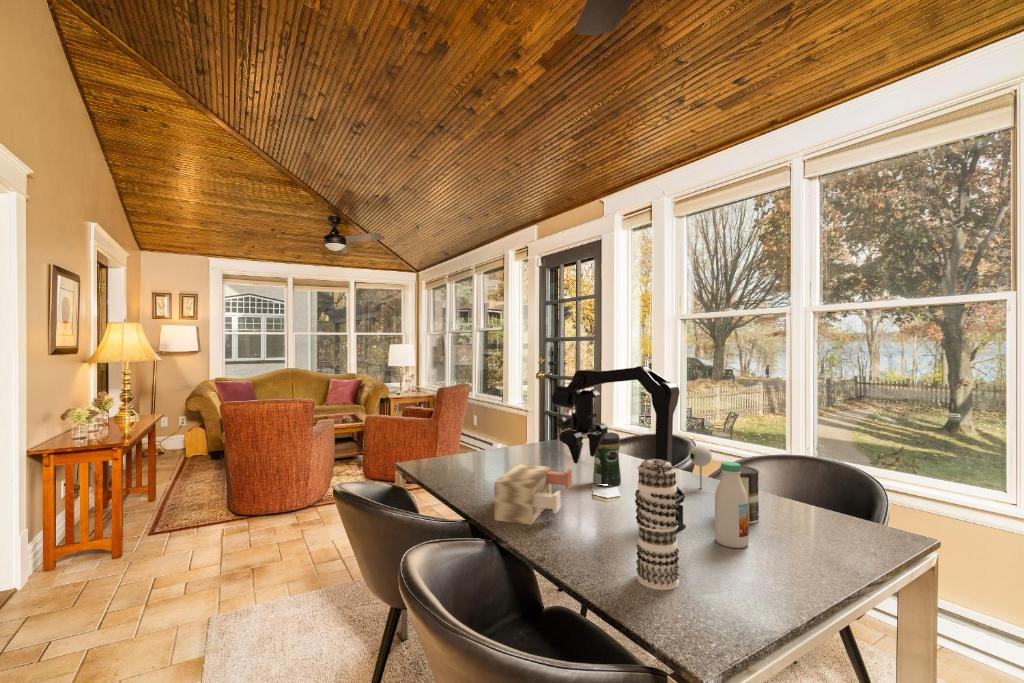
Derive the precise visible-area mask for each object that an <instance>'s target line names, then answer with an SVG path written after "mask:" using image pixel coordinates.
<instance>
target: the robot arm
mask: <svg viewBox="0 0 1024 683" xmlns="http://www.w3.org/2000/svg"><path fill="white" fill-rule="evenodd" d="M630 381H638V382H639V383H640V384H641V386H642V387H643V388H644V390H645V391H647V392H648V393H649V394H650V396H651V404H652V407H653V410H654V413H655V438H654V439H655V441H654V459H660V460H665V461H668V462H670V463H671V465H672V461H673V457H672V456H673V430H674V429H673V426H674V425H673V423H674V414H675V412H676V411H675V410H676V409H677V408H676V407H677V406H678V404H679V403H678V402H679V397H680V388H679V386H678V385H677V384H676V383H674V382H672V381H668V380H667V379H665V378H664V377H663V376H661V375H659V374H657V373H656V372H654V371H653V370H652V369H651V368H650V367H648V366H646V365H637V366H635V367H629V368H628V367H627V368H621V369H612V370H611V369H610V370H599V369H578V370H577V371H575V373H574V374H573V376H572V379H571V381H570V382H569V383H568V385H567V386H564V385H560V384H559V385H556V386H555V390H554V391H553V393H552V396H551V402H552V405H553V406H555V407H559V408H565V409H572V408H573V407H574V412H573V413H571V417H568V418H565V416H561V417H558V418H556V419H557V421H556V426H557V428H559V429H560V430H561V432H560V433H559V435H558V436H559V439H558V440H559V441H560V442H562V443H563V444H565V445H566V446H567V447H568V449H569V452H570V456H571V458H572V460H573V461H572V462H573V463H574V464H578V463H579V460H580V456H581V453H582V449H583V444H584V443H583V439H584V436H586V437H587V438H588V446H589V449H588V450H589V456H590V457H593V458H594V457H595V453H596V451H597V449H598V447H599V445H600V443H601V441H602V439H603V437H604V436H605V433H609V431H608V426H607V424H606V423H602V422H597V421H594V420H595V418H596V417H597V413H596V412H594V406H595V403H594V402H595V399H594V398H598V397H601V393H600V392H599V391H598V390H597V389H596V388H595V387H598V386H601V385H603V384H608V383H617V382H630ZM587 389H591V390H587ZM672 466H673V465H672ZM677 488H678V489H679V490H678V492H677V491H676V493H677V494H679V495H680V498H679V499H677V500H676V499H675V502H676V503H678V504H679V508H677V509H676V510H677V511H678V512H679V513H680V514H679V515H678V516H676V517H675V519H676V520H677V521H678V522H679V524H678V528H677V529H676V534H677V533H678V532H680V531H681V530H683V529H685V528H686V527H687V525H686V524H685V523H684V505H682V503H684V501H685V498H686V495H685V494H684V492H683V491H682V490H681V489H680V488H679V487H678V486H677Z"/></svg>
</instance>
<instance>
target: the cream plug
mask: <svg viewBox="0 0 1024 683" xmlns="http://www.w3.org/2000/svg"><path fill="white" fill-rule="evenodd" d="M561 493H562V491H561V490H556V492H554V493H551V494H549V493H539V492H535V493H534V494H533V507H540V508H545V509H551V510H552V513H553V514H557V513H558V512H559V511H560V510H561Z"/></svg>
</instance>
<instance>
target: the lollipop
mask: <svg viewBox="0 0 1024 683" xmlns="http://www.w3.org/2000/svg"><path fill="white" fill-rule="evenodd" d="M712 457H713V456H712V453H711V450H710V449H709V448H708V447H706V446H704V445H695V446H694V447H693V448H691V450H690V452H689V459H690V461H691V463H693V464H694V465H695V466H697V467H699V489H700V488H702V489H703V470H702V467H706V466H708V465H709V464H710V463H711V461H712Z"/></svg>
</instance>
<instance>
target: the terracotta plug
mask: <svg viewBox="0 0 1024 683" xmlns="http://www.w3.org/2000/svg"><path fill="white" fill-rule="evenodd" d="M572 474H573V470H572V469H568V470H566V471H565V472H564V471H554V470H551V471H548V472H547V484H551V485H555V486H556V485H557V486H564V489H565V490H570V488H571V487H572V485H573V484H572V482H573V481H572V480H573V475H572Z"/></svg>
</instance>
